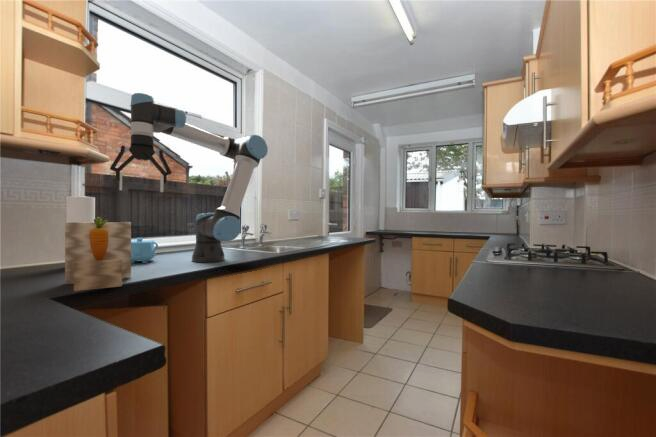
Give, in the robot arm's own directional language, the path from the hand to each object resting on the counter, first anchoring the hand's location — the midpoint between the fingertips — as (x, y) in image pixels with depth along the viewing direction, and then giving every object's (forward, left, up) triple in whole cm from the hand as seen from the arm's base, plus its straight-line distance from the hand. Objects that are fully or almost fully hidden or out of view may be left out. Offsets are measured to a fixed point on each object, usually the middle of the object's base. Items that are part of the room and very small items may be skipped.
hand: (142, 191), depth 120 cm
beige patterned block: (+13, +14, -32) cm, 37 cm away
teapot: (-1, -30, -32) cm, 44 cm away
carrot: (+13, +14, -25) cm, 32 cm away
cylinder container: (+20, -28, -32) cm, 47 cm away
